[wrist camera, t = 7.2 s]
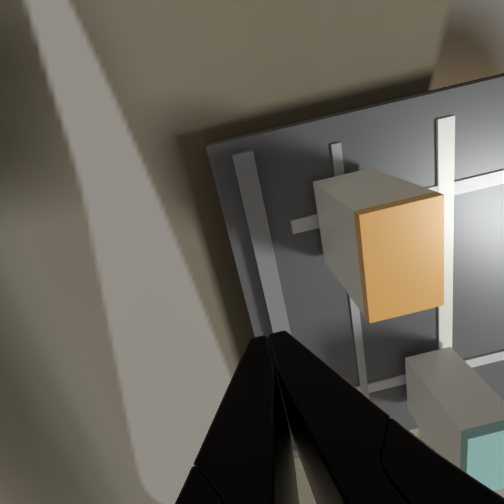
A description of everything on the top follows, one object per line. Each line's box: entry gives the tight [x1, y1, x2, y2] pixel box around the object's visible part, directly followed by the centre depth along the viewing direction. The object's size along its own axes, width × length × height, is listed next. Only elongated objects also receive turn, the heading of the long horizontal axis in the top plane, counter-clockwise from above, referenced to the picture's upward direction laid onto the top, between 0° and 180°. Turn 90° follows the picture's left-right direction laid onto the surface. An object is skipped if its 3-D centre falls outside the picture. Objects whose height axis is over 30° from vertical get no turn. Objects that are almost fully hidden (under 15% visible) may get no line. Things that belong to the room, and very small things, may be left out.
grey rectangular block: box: [313, 168, 444, 323], centre depth 12 cm, size 2×4×5 cm, turn 12°
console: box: [206, 73, 504, 458], centre depth 17 cm, size 19×18×2 cm
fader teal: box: [405, 347, 504, 491], centre depth 16 cm, size 2×4×5 cm, turn 12°
